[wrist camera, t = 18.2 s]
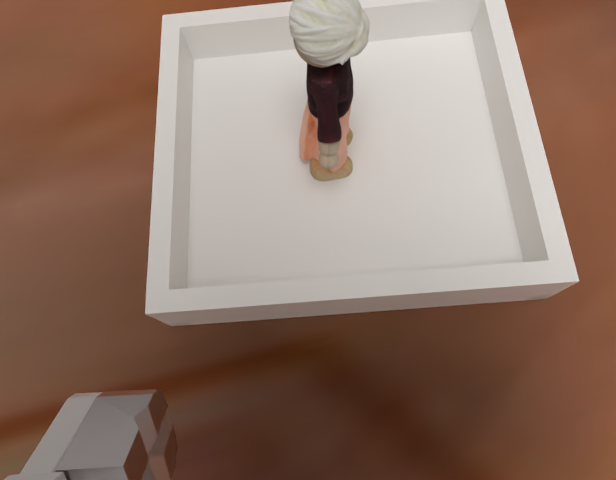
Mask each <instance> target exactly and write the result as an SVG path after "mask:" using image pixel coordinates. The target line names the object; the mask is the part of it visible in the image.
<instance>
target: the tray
mask: <svg viewBox="0 0 616 480" xmlns="http://www.w3.org/2000/svg"><path fill="white" fill-rule="evenodd" d="M359 2H360V4H361V7H362V8H363V10H364V11H365V13H366V15H367V17H368V19H369V23H370V28H369V35H368V43H367V45H366V47H365V48H364V49H363V51H362V52H361V53H360V54H358V55H357V56H354V57H350V61H351V69H352V74H353V99H352V102H351V110H350V117H349V128H350V129H351V130H352V132H353V138H352V141H351V143H350V144H349V145H348V146H347V156H348V157H350V159H351V160H352V163H353V170H352V173H351V174H350V175H349V176H347V177H346V178H341V179H335V180H330V181H318V180H316V179H314V178H313V177H312V175H311V174H310V169H309V165H310V161H311V159H312V158H310V159H308V160H305V161H303V160H301V158H300V155H299V138H300V131H301V125H302V120H303V114H304V110H305V107H306V103H307V98H308V96H307V88H306V79H307V63H306V62H305V61H304V60H303V59H302V58H301V57H300V56H299V54H298V53H297V51H296V48H295V46H294V42H293V37H292V36H291V32H290V27H289V11H290V8H291V5H292V3H293V1H291V2H282V3H272V4H263V5H254V6H244V7H235V8H225V9H216V10H207V11H197V12H188V13H178V14H169V15H163V17H162V33H161V50H160V67H159V84H158V101H157V118H156V135H155V152H154V169H153V186H152V203H151V220H150V237H149V254H148V271H147V287H146V304H145V314H146V315H148V316H150V317H152V318H155V319H157V320H159V321H161V322H163V323H165V324H167V325H170V326H185V325H199V324H212V323H226V322H239V321H253V320H266V319H280V318H293V317H307V316H320V315H334V314H348V313H361V312H375V311H388V310H402V309H415V308H429V307H442V306H456V305H469V304H483V303H497V302H510V301H524V300H537V299H547V298H549V297H551V296H553V295H555V294H556V293H558V292H560V291H562V290H564V289H566V288H568V287H570V286H571V285H573V284H575V283H577V282H579V278H578V275H577V271H576V267H575V263H574V260H573V256H572V252H571V248H570V245H569V241H568V237H567V233H566V230H565V226H564V222H563V218H562V215H561V211H560V207H559V203H558V200H557V196H556V192H555V188H554V185H553V181H552V177H551V173H550V170H549V166H548V162H547V158H546V155H545V151H544V147H543V143H542V140H541V136H540V132H539V128H538V125H537V121H536V117H535V113H534V110H533V106H532V102H531V98H530V95H529V91H528V87H527V83H526V80H525V76H524V72H523V68H522V65H521V61H520V57H519V53H518V50H517V46H516V42H515V38H514V35H513V31H512V27H511V23H510V20H509V16H508V12H507V8H506V5H505V1H504V0H359Z"/></svg>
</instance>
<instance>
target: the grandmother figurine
mask: <svg viewBox="0 0 616 480" xmlns="http://www.w3.org/2000/svg"><path fill="white" fill-rule="evenodd" d="M289 27H290V32H291V36H292V37H293V42H294V46H295V48H296V51H297V53H298V54H299V56H300V57H301V58H302V59H303V60H304V61H305V62H306V63H307V79H306V88H307V96H308V98H307V103H306V107H305V110H304V114H303V120H302V125H301V131H300V138H299V155H300V158H301V160H303V161H305V160H308V159H310V158H312V159H311V161H310V165H309V169H310V174H311V175H312V177H313V178H314V179H316V180H318V181H330V180H335V179H341V178H346V177H347V176H349V175H350V174H351V173H352V170H353V163H352V160H351V159H350V157H348V156H347V146H348V145H349V144H350V143H351V141H352V138H353V132H352V130H351V129H350V128H349V117H350V110H351V102H352V99H353V74H352V69H351V61H350V57H354V56H357V55H358V54H360V53H361V52H362V51H363V49H364V48H365V47H366V45H367V43H368V35H369V28H370V23H369V19H368V17H367V15H366V13H365V11H364V10H363V8H362V7H361V4H360V2H359V0H293V3H292V5H291V8H290V11H289Z"/></svg>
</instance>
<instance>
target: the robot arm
mask: <svg viewBox="0 0 616 480" xmlns="http://www.w3.org/2000/svg"><path fill="white" fill-rule="evenodd" d="M167 407H168V405H167V402H166V399H165V396H164V393H163V391H160V390H158V389H153V390H130V391H106V392H98V393H75V394H74V395H72V396H71V397H69V398H68V399H67V400H66V401H65V403H64V405H63V406H62V408H61V409H60V411H59V412H58V414H57V416H56V417H55V419H54V420H53V422H52V423H51V425H50V427H49V428H48V430H47V431H46V433H45V434H44V436H43V438H42V439H41V441H40V442H39V444H38V445H37V447H36V449H35V450H34V452H33V453H32V455H31V456H30V458H29V460H28V461H27V463H26V464H25V466H24V468H23V469H22V471H21V472H20V474H16V475H9V476H8V477H6V478H5V479H4V480H172V476H173V472H174V469H175V463H176V453H177V443H176V434H175V430H174V426H173V424H172V423H170V422H169V421H168V420H166V419H165V418H164V415H165V412H166V409H167Z"/></svg>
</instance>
